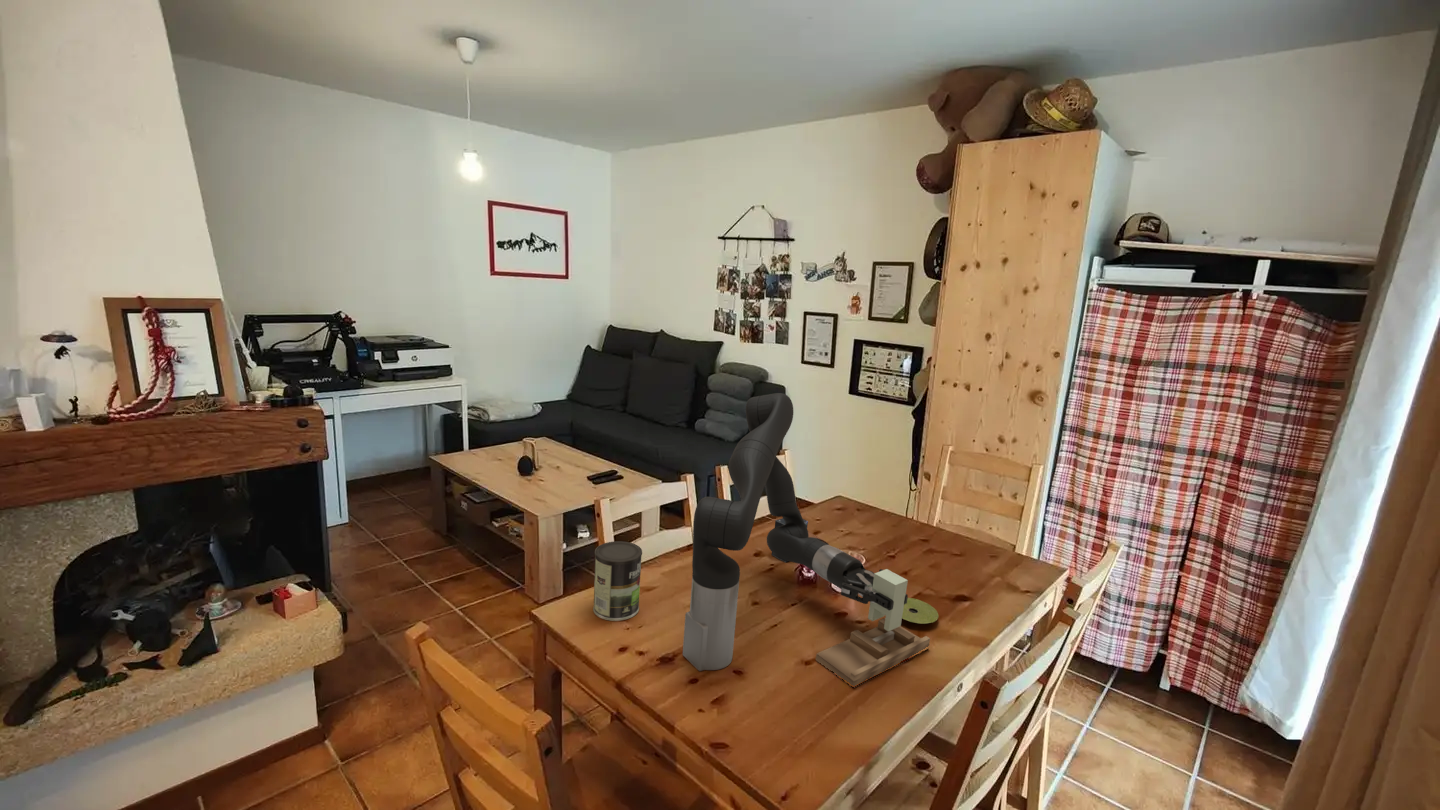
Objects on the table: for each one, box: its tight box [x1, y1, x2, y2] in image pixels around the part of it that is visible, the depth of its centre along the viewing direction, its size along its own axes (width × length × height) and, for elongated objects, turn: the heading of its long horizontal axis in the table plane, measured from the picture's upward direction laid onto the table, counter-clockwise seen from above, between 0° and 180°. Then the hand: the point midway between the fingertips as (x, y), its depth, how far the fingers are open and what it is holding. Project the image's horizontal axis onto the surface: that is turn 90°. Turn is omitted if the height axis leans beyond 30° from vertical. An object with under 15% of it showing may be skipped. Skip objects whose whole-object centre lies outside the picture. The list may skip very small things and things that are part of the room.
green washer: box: [902, 597, 939, 625], centre depth 143 cm, size 11×11×2 cm
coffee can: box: [592, 540, 643, 622], centre depth 136 cm, size 10×10×14 cm
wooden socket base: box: [815, 617, 931, 686], centre depth 127 cm, size 24×10×4 cm, turn 127°
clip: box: [867, 568, 909, 632], centre depth 127 cm, size 4×5×10 cm
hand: (899, 602), depth 125 cm, fingers closed on clip, 4 cm apart
